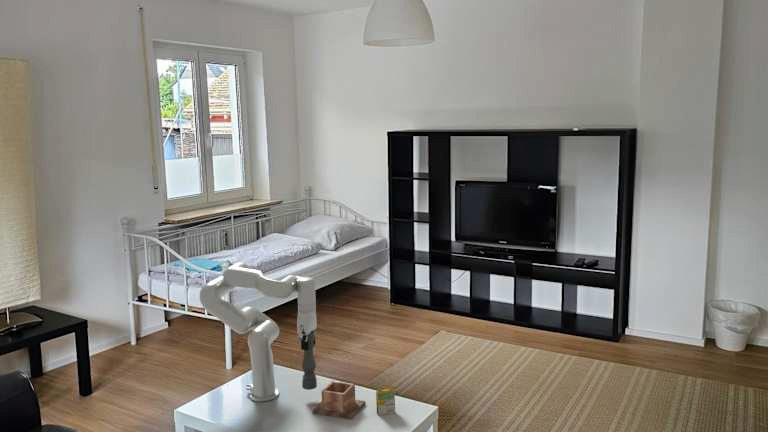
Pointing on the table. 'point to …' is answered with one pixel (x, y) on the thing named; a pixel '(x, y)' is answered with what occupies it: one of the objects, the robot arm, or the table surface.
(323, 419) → the table surface
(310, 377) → the candle holder
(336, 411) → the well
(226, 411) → the table surface
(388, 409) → the crayon box
